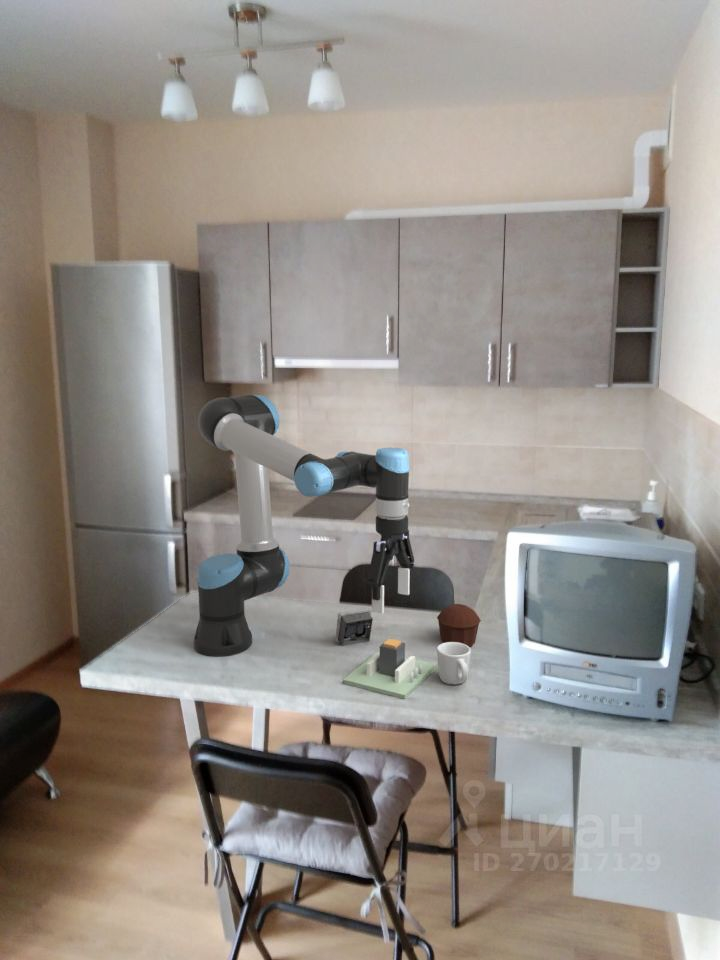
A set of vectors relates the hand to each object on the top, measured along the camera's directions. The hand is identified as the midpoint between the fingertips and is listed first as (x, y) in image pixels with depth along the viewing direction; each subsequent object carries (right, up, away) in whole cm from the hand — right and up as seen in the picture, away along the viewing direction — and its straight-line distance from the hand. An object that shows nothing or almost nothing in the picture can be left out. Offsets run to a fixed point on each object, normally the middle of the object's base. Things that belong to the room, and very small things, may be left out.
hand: (391, 602), depth 177 cm
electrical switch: (-8, -14, +23) cm, 28 cm away
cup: (+15, -19, 0) cm, 24 cm away
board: (0, -18, +4) cm, 18 cm away
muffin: (+19, -14, +23) cm, 33 cm away
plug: (0, -17, +3) cm, 17 cm away
